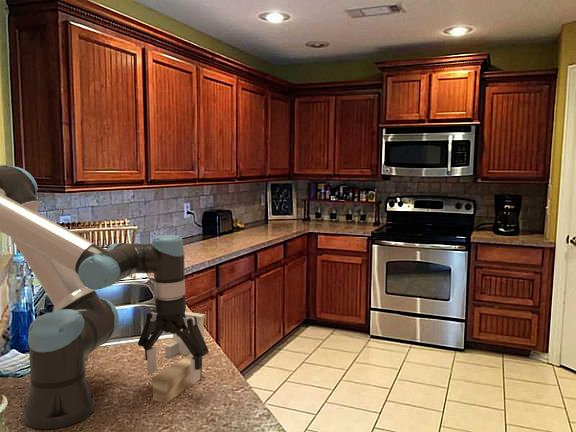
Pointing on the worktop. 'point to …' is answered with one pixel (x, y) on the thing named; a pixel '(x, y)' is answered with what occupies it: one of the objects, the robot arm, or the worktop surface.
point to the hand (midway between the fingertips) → (173, 376)
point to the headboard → (177, 343)
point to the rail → (173, 380)
